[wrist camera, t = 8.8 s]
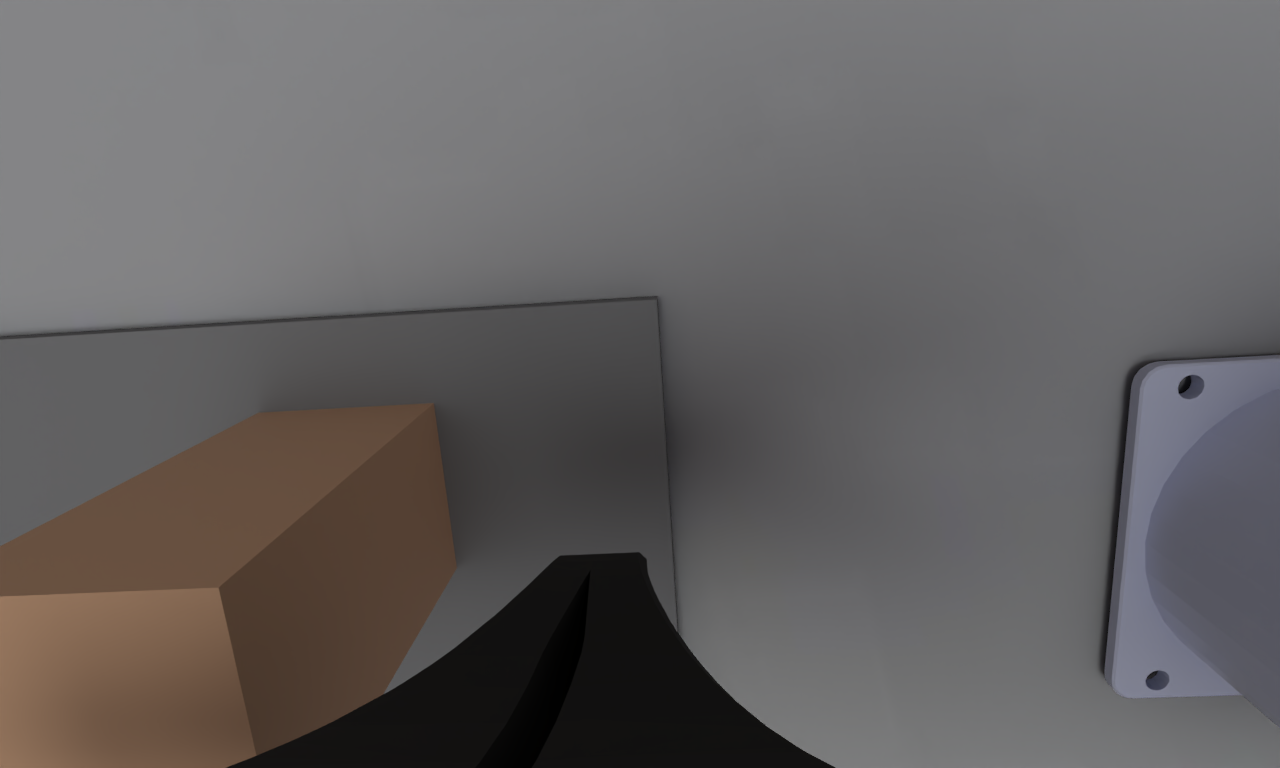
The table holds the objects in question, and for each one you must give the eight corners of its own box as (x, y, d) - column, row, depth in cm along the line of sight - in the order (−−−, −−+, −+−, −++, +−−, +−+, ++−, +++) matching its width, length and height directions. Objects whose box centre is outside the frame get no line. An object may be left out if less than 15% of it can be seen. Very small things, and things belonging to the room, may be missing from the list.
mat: (657, 296, 16) (656, 299, 16) (686, 764, 19) (686, 779, 18) (-123, 344, 17) (-145, 348, 17) (17, 782, 20) (1, 796, 20)
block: (433, 402, 16) (218, 587, 9) (456, 567, 17) (282, 868, 10) (258, 412, 17) (-106, 600, 9) (290, 575, 18) (-12, 872, 10)
